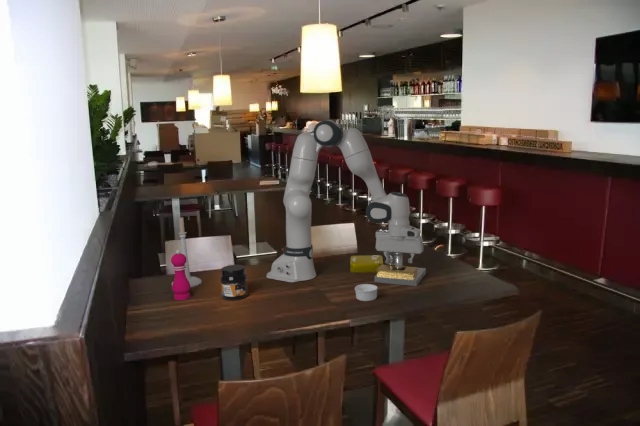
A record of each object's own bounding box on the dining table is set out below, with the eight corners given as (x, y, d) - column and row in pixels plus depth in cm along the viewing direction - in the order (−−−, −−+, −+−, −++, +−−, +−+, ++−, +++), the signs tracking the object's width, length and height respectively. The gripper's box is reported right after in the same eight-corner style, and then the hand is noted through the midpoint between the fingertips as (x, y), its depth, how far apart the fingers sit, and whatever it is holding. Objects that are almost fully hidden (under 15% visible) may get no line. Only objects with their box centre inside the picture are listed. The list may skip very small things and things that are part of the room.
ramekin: (351, 296, 207) (351, 285, 206) (371, 292, 210) (371, 282, 209) (360, 303, 199) (360, 292, 198) (381, 299, 202) (381, 289, 201)
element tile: (350, 264, 253) (350, 254, 252) (382, 263, 251) (382, 254, 250) (350, 273, 238) (350, 263, 237) (383, 273, 237) (383, 262, 236)
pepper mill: (172, 301, 208) (168, 253, 204) (172, 296, 215) (168, 248, 211) (191, 299, 210) (187, 251, 206) (191, 293, 217) (186, 246, 213)
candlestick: (178, 290, 222) (171, 220, 216) (167, 283, 232) (161, 216, 227) (206, 283, 229) (201, 216, 224) (194, 277, 239) (189, 212, 234)
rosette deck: (374, 282, 223) (374, 254, 221) (386, 270, 239) (386, 244, 237) (416, 286, 216) (416, 257, 214) (425, 273, 232) (425, 247, 230)
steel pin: (393, 280, 225) (392, 252, 223) (395, 277, 228) (395, 250, 226) (402, 280, 223) (401, 253, 221) (404, 278, 227) (404, 251, 225)
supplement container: (224, 302, 205) (222, 273, 203) (219, 294, 214) (217, 266, 212) (251, 298, 209) (249, 269, 206) (244, 290, 218) (242, 262, 216)
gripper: (373, 230, 223) (373, 262, 226) (421, 233, 215) (421, 265, 217) (377, 227, 229) (378, 258, 231) (424, 230, 221) (424, 261, 223)
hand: (399, 262), depth 224 cm, fingers open, 8 cm apart
